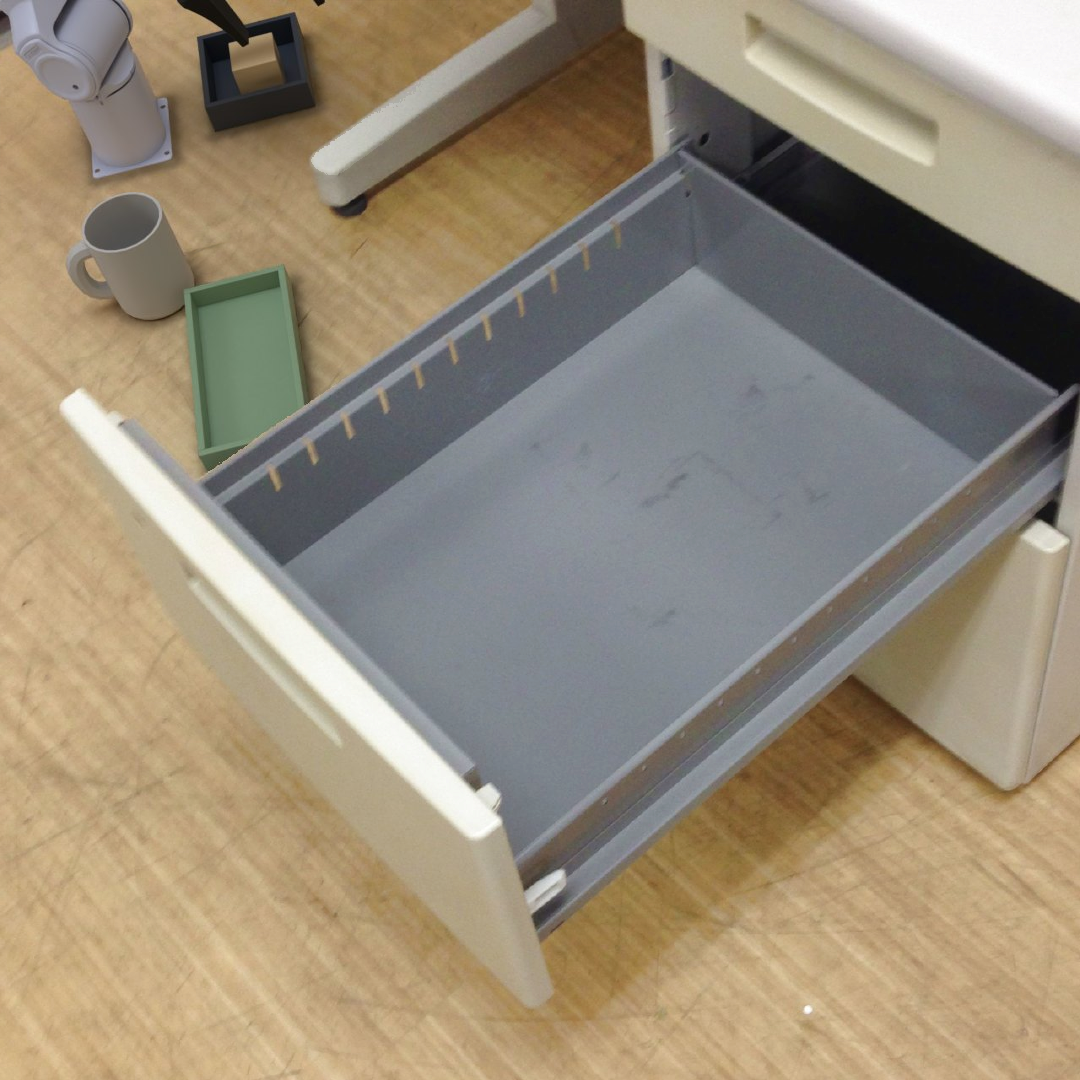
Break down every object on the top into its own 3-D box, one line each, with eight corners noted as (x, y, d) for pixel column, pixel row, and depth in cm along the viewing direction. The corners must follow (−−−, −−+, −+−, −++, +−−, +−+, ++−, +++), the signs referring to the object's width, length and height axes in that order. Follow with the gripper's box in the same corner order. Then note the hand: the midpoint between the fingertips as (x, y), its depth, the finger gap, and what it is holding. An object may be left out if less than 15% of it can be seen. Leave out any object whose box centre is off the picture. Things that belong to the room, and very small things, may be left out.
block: (242, 79, 152) (228, 43, 149) (284, 68, 152) (271, 31, 149) (246, 107, 150) (231, 71, 146) (289, 96, 150) (276, 59, 146)
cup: (201, 308, 136) (166, 237, 129) (94, 340, 136) (53, 272, 129) (191, 253, 140) (157, 182, 133) (87, 285, 140) (47, 215, 133)
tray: (192, 308, 136) (183, 289, 134) (291, 283, 136) (283, 263, 134) (208, 474, 126) (198, 456, 124) (316, 446, 126) (307, 428, 123)
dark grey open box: (207, 64, 155) (196, 36, 152) (304, 40, 155) (294, 11, 152) (216, 135, 149) (204, 108, 146) (317, 110, 149) (307, 81, 146)
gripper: (114, -49, 121) (212, 82, 131) (268, -138, 118) (358, 3, 128) (117, -90, 126) (212, 39, 136) (266, -177, 122) (352, -38, 132)
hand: (283, 19), depth 132 cm, fingers open, 7 cm apart
